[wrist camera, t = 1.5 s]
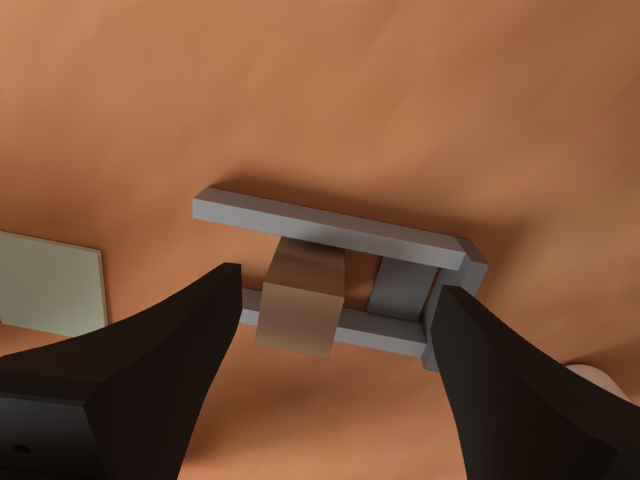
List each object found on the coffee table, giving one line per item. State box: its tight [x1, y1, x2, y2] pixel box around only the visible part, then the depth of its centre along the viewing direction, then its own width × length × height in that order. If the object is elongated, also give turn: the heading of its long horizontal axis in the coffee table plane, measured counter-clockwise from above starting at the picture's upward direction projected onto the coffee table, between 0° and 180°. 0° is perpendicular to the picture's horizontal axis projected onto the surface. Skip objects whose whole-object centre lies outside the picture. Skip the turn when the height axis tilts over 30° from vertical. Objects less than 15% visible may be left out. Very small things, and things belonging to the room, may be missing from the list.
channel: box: [192, 187, 489, 372], centre depth 21 cm, size 8×16×3 cm, turn 79°
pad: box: [0, 231, 108, 337], centre depth 25 cm, size 8×8×1 cm
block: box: [255, 236, 345, 359], centre depth 20 cm, size 4×4×6 cm
